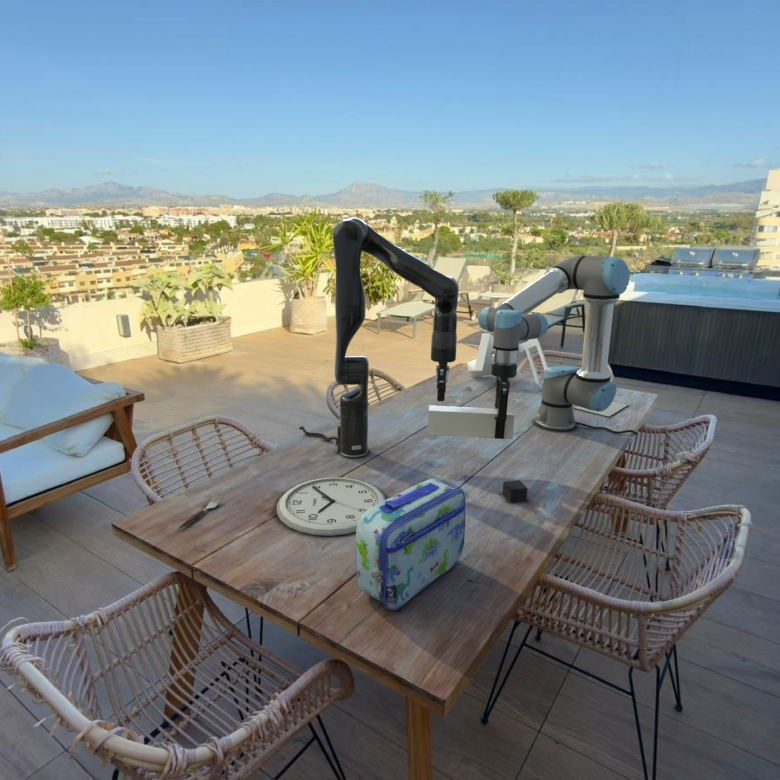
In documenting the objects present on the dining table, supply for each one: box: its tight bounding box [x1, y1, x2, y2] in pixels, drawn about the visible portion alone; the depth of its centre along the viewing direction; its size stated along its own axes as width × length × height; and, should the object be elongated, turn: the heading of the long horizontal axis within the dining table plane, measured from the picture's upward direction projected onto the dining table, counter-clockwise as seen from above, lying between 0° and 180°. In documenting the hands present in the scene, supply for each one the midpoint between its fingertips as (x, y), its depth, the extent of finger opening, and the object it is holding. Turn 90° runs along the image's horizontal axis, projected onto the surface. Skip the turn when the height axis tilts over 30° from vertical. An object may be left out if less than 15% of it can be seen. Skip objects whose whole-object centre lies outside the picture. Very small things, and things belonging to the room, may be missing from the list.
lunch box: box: [355, 478, 466, 611], centre depth 110 cm, size 26×11×21 cm, turn 134°
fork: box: [178, 493, 223, 529], centre depth 137 cm, size 3×16×2 cm, turn 160°
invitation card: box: [573, 400, 629, 418], centre depth 226 cm, size 21×1×15 cm
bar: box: [427, 404, 516, 440], centre depth 163 cm, size 26×5×8 cm, turn 83°
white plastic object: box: [466, 332, 549, 390], centre depth 259 cm, size 37×45×31 cm
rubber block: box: [502, 479, 528, 503], centre depth 148 cm, size 5×5×4 cm
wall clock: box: [276, 476, 387, 537], centre depth 142 cm, size 30×2×30 cm
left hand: (441, 396), depth 161 cm, fingers open, 8 cm apart
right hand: (498, 434), depth 163 cm, fingers closed on bar, 5 cm apart
